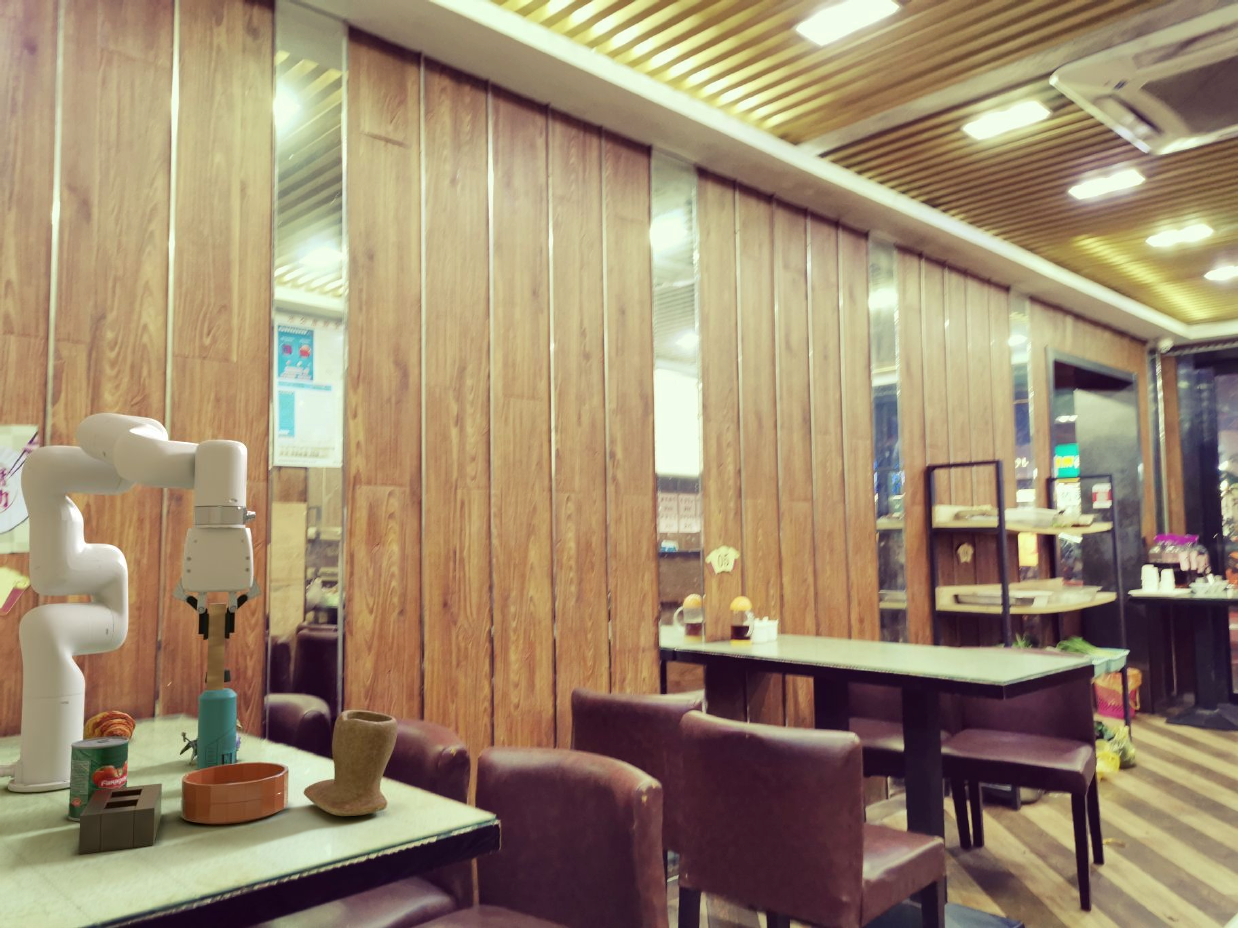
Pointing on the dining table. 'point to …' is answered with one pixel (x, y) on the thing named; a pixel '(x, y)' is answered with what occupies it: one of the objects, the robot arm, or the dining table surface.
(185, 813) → the bowl
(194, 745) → the passion flower
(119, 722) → the croissant
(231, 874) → the dining table surface
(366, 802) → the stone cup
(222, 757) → the beverage bottle
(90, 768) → the canned tomato
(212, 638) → the light brown wooden bar
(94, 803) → the utensil stand
